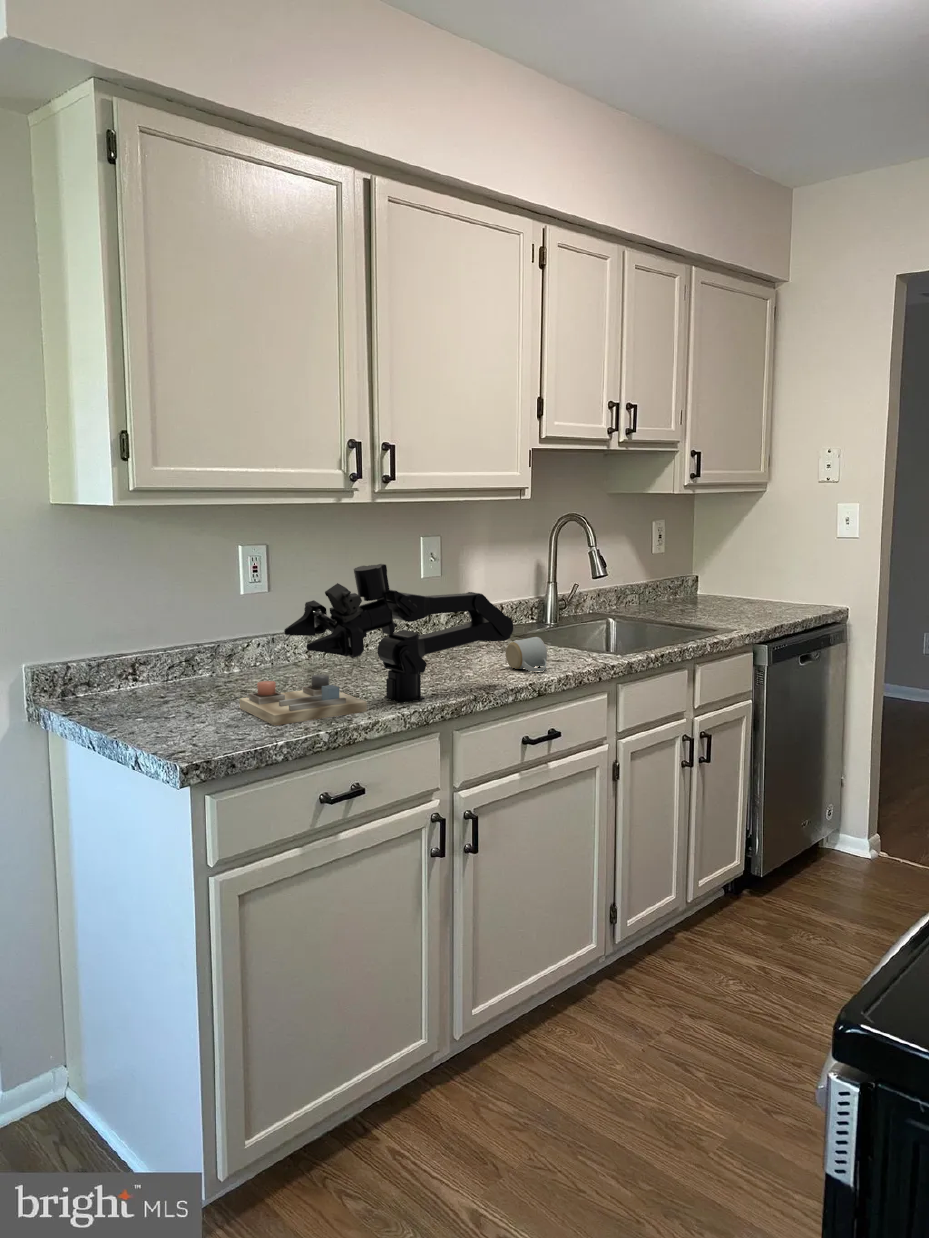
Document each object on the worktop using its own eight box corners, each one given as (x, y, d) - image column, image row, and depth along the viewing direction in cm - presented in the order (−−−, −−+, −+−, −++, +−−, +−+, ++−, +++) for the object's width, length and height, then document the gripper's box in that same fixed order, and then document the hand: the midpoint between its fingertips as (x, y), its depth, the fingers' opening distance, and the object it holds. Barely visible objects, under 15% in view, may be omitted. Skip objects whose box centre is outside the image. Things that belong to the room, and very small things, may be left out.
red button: (271, 690, 197) (271, 680, 197) (278, 693, 194) (278, 683, 194) (254, 692, 195) (254, 682, 195) (262, 696, 192) (261, 685, 192)
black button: (324, 683, 204) (323, 673, 204) (332, 686, 201) (331, 676, 201) (308, 685, 202) (308, 675, 202) (316, 688, 199) (316, 678, 199)
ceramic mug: (503, 667, 240) (503, 637, 239) (530, 664, 245) (530, 634, 243) (527, 675, 232) (528, 644, 230) (555, 672, 236) (556, 641, 235)
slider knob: (332, 698, 196) (332, 684, 195) (339, 701, 193) (339, 687, 193) (321, 699, 194) (321, 686, 194) (328, 702, 192) (328, 688, 191)
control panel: (327, 695, 208) (327, 681, 207) (366, 711, 194) (366, 695, 194) (239, 708, 197) (239, 692, 196) (274, 725, 183) (274, 709, 182)
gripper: (337, 569, 201) (269, 588, 192) (386, 595, 187) (315, 616, 178) (341, 618, 205) (275, 638, 197) (389, 647, 191) (320, 670, 183)
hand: (295, 639), depth 188 cm, fingers open, 9 cm apart
